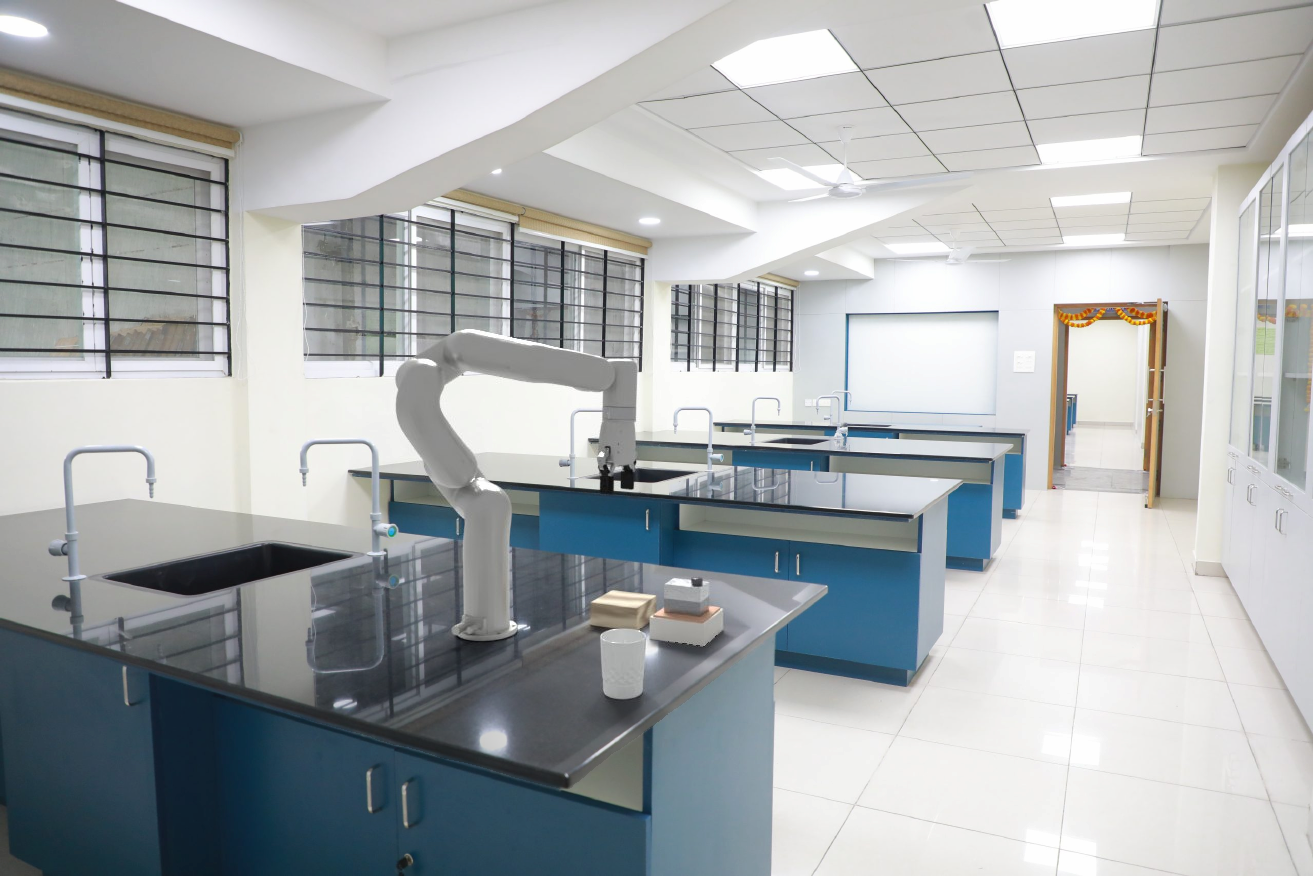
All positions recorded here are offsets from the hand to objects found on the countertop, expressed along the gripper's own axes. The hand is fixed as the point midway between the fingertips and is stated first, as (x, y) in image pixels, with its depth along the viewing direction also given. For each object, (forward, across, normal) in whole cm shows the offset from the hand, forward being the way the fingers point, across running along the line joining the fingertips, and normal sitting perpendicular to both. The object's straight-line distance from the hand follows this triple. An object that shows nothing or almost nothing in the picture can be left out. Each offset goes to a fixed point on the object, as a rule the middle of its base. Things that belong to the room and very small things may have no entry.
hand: (617, 491), depth 186 cm
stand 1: (+28, +2, +4) cm, 29 cm away
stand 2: (+28, +5, +20) cm, 35 cm away
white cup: (+29, +39, +22) cm, 53 cm away
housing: (+23, +5, +20) cm, 31 cm away
